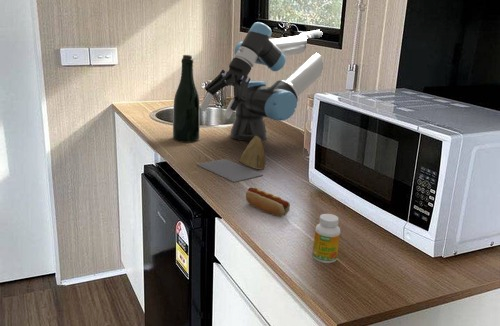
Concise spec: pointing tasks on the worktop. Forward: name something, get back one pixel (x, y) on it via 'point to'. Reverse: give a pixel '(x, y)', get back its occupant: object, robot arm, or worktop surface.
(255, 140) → the yellow wedge
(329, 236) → the supplement bottle
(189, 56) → the dark green wine bottle
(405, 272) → the worktop surface
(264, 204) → the food
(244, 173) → the mat
